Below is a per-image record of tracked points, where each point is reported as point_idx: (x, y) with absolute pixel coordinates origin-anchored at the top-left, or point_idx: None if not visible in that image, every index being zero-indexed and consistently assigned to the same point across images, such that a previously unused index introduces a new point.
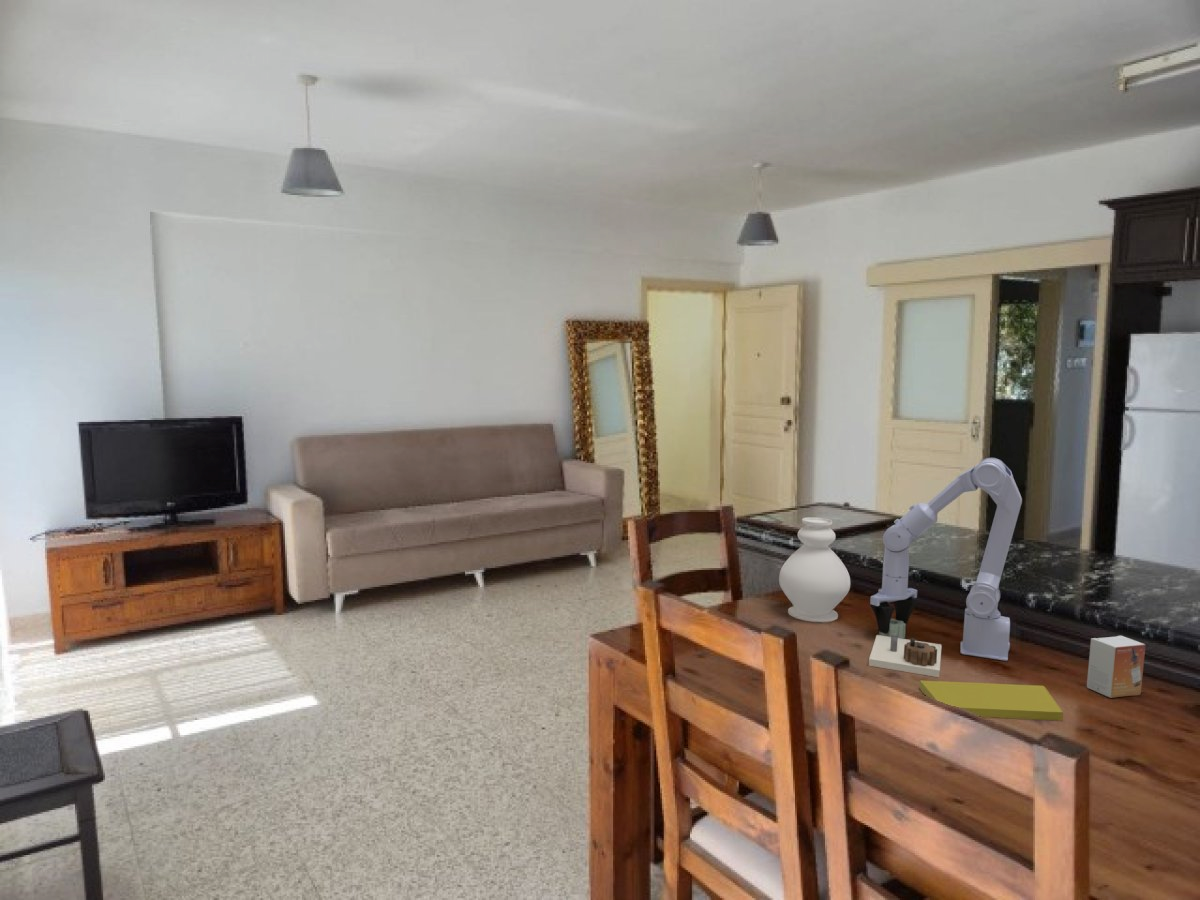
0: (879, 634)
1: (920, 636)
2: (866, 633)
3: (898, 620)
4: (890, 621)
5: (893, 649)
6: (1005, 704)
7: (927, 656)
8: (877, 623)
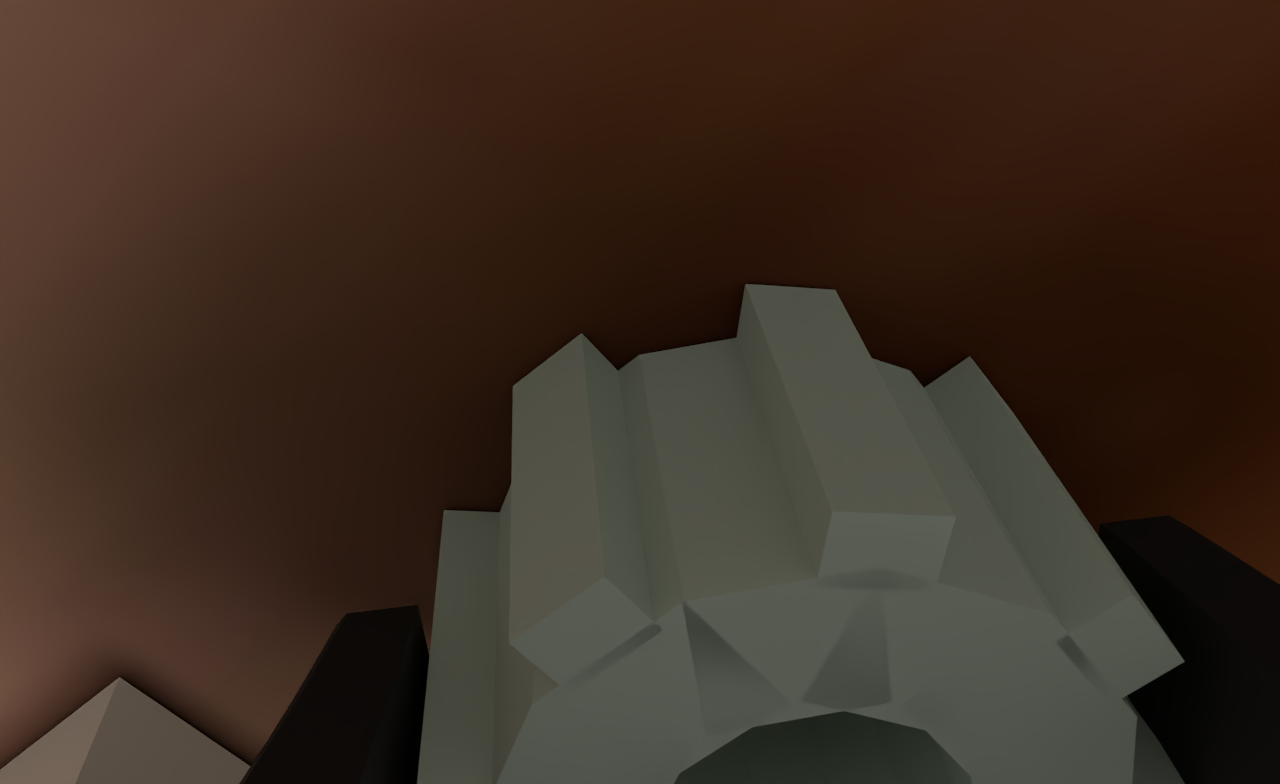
0: (523, 393)
1: None
2: (230, 187)
3: (1129, 776)
4: (879, 701)
5: None
6: None
7: None
8: (257, 759)
